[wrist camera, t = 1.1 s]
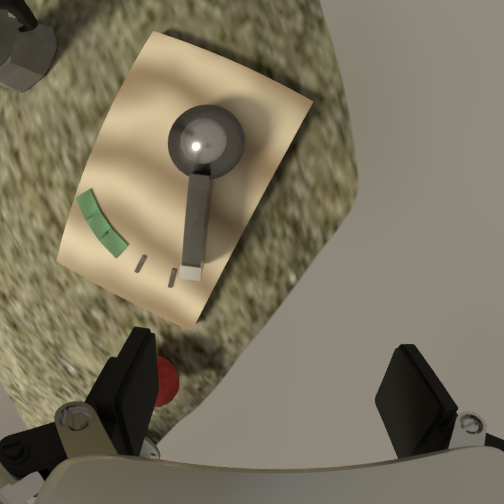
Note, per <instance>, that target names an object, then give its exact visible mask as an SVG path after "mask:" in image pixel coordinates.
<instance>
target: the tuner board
mask: <svg viewBox="0 0 504 504" xmlns="http://www.w3.org/2000/svg"><path fill="white" fill-rule="evenodd" d="M312 103H313V101H311V100H310V99H308V98H306V97H304V96H302V95H301V94H299V93H297V92H295V91H293V90H291V89H289V88H288V87H286V86H284V85H282V84H280V83H278V82H276V81H274V80H272V79H270V78H268V77H266V76H264V75H262V74H260V73H258V72H255V71H253V70H251V69H249V68H247V67H245V66H243V65H240V64H238V63H236V62H234V61H231V60H229V59H227V58H224V57H222V56H220V55H217V54H215V53H212V52H210V51H207V50H205V49H202V48H200V47H197V46H195V45H192V44H189V43H186V42H184V41H181V40H178V39H175V38H172V37H170V36H167V35H164V34H161V33H157V32H154V31H153V32H152V34H151V36H150V37H149V39H148V40H147V42H146V44H145V45H144V47H143V49H142V50H141V52H140V54H139V56H138V57H137V59H136V61H135V62H134V64H133V66H132V68H131V70H130V71H129V73H128V75H127V77H126V79H125V81H124V83H123V85H122V86H121V88H120V90H119V92H118V94H117V96H116V98H115V100H114V102H113V104H112V106H111V109H110V111H109V113H108V115H107V117H106V119H105V121H104V124H103V126H102V128H101V130H100V133H99V135H98V137H97V140H96V142H95V144H94V147H93V149H92V152H91V154H90V157H89V159H88V162H87V164H86V167H85V170H84V172H83V175H82V178H81V181H80V183H79V186H78V189H77V192H76V195H75V198H74V201H73V204H72V207H71V210H70V214H69V217H68V220H67V224H66V227H65V230H64V234H63V238H62V241H61V245H60V249H59V253H58V257H57V262H59V263H60V264H62V265H64V266H66V267H67V268H69V269H71V270H72V271H74V272H76V273H78V274H79V275H81V276H83V277H85V278H87V279H88V280H90V281H92V282H94V283H96V284H97V285H99V286H101V287H103V288H105V289H107V290H109V291H110V292H112V293H114V294H116V295H118V296H120V297H122V298H124V299H126V300H128V301H130V302H132V303H134V304H135V305H137V306H139V307H141V308H143V309H145V310H148V311H150V312H152V313H154V314H156V315H158V316H160V317H162V318H164V319H166V320H168V321H170V322H172V323H175V324H177V325H179V326H181V327H183V328H185V329H188V330H190V331H192V329H193V327H194V325H195V323H196V321H197V319H198V318H199V316H200V314H201V312H202V310H203V308H204V306H205V304H206V302H207V300H208V298H209V296H210V294H211V292H212V290H213V288H214V286H215V285H216V283H217V281H218V279H219V277H220V275H221V273H222V271H223V269H224V267H225V265H226V263H227V261H228V260H229V258H230V256H231V254H232V252H233V250H234V248H235V246H236V244H237V242H238V241H239V239H240V237H241V235H242V233H243V231H244V229H245V227H246V225H247V223H248V222H249V220H250V218H251V216H252V214H253V212H254V210H255V208H256V207H257V205H258V203H259V201H260V199H261V197H262V195H263V193H264V192H265V190H266V188H267V186H268V184H269V182H270V180H271V179H272V177H273V175H274V173H275V171H276V169H277V167H278V166H279V164H280V162H281V160H282V158H283V156H284V154H285V153H286V151H287V149H288V147H289V145H290V143H291V142H292V140H293V138H294V136H295V134H296V132H297V131H298V129H299V127H300V125H301V123H302V121H303V120H304V118H305V116H306V114H307V112H308V111H309V109H310V107H311V105H312ZM199 105H216V106H220V107H222V108H225V109H226V110H228V111H230V112H231V113H232V114H233V115H234V116H235V117H236V118H237V119H238V121H239V122H240V124H241V126H242V128H243V131H244V136H245V147H244V152H243V155H242V157H241V159H240V161H239V162H238V164H237V165H236V166H235V167H234V168H233V169H232V170H231V171H230V172H229V173H227V174H226V175H224V176H222V177H219V178H216V179H213V186H212V194H211V203H210V212H209V222H208V232H207V242H206V252H205V263H204V268H203V271H202V274H201V280H200V281H193V280H185V279H179V270H180V264H182V251H183V238H184V225H185V214H186V203H187V193H188V183H189V176H187V175H185V174H183V173H182V172H181V171H180V170H179V169H178V168H177V167H176V166H175V165H174V163H173V162H172V160H171V158H170V155H169V151H168V136H169V132H170V129H171V127H172V125H173V123H174V122H175V120H176V119H177V118H178V117H179V116H180V115H181V114H182V113H184V112H185V111H186V110H188V109H190V108H192V107H195V106H199Z"/></svg>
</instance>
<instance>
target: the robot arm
mask: <svg viewBox="0 0 504 504" xmlns="http://www.w3.org/2000/svg"><path fill="white" fill-rule="evenodd" d="M158 394H159V378H158V367H157V355H156V340H155V334H154V333H151V332H150V329H148V328H142V327H134V328H133V330H132V332H131V333H130V335H129V337H128V339H127V340H126V342H125V344H124V346H123V348H122V349H121V351H120V353H119V355H118V357H117V358H116V357H110V358H109V359H108V361H107V363H106V364H105V366H104V368H103V370H102V371H101V373H100V375H99V377H98V378H97V380H96V382H95V384H94V386H93V387H92V389H91V391H90V393H89V395H88V396H87V398H86V400H85V402H77V401H74V402H69V403H66V404H63V405H62V406H61V407H59V408H58V410H57V411H56V413H55V416H54V420H55V422H52V423H49V424H46V425H43V426H40V427H36V428H33V429H30V430H26V431H23V432H19V433H16V434H12V435H9V436H7V437H4V438H3V439H2V440H1V441H0V504H28V503H27V502H26V501H27V500H29V499H30V498H31V497H36V499H35V501H34V504H504V440H502V439H500V438H498V437H495V436H493V435H490V434H488V433H486V424H485V421H484V420H483V419H482V418H481V417H480V416H479V415H477V414H475V413H473V412H462V413H460V414H459V415H458V414H457V413H456V411H457V410H458V407H457V405H456V404H455V402H454V401H453V399H452V398H451V396H450V395H449V393H448V392H447V390H446V389H445V387H444V386H443V384H442V383H441V381H440V380H439V378H438V377H437V376H436V374H435V373H434V371H433V370H432V368H431V367H430V366H429V364H428V363H427V362H426V360H425V359H424V357H423V356H422V354H421V353H420V352H419V350H418V349H417V347H416V346H415V345H414V344H401V345H400V346H399V347H398V348H396V349H395V351H394V353H393V356H392V358H391V361H390V364H389V366H388V368H387V371H386V373H385V376H384V378H383V380H382V383H381V385H380V387H379V390H378V392H377V394H376V397H375V404H376V406H377V409H378V411H379V413H380V416H381V418H382V420H383V423H384V425H385V428H386V430H387V432H388V435H389V437H390V440H391V442H392V445H393V447H394V450H395V452H396V454H397V457H398V459H395V460H389V461H382V462H375V463H368V464H360V465H351V466H340V467H329V468H310V469H246V468H228V467H216V466H206V465H196V464H187V463H179V462H172V461H165V460H160V452H159V450H158V448H157V446H156V445H155V444H154V443H153V442H152V441H151V440H150V439H149V438H148V437H146V436H145V435H146V432H147V429H148V426H149V422H150V419H151V416H152V413H153V410H154V406H155V403H156V400H157V397H158Z"/></svg>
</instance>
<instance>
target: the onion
mask: <svg viewBox="0 0 504 504" xmlns="http://www.w3.org/2000/svg"><path fill="white" fill-rule="evenodd" d="M157 367H158V378H159V394H158V397H157V400H156V403H155V406H154V407H161V406H163V405H165V404H167V403H169V402H171V401H172V400H173V398H174V397H175V395H176V394H177V392H178V390H179V376H178V373H177V371H176V369H175V367H174V366H173V365H172V364H171V363H170V362H169V361H168V360H166V359H165V358H163V357H160V356H157Z"/></svg>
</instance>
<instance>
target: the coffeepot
mask: <svg viewBox="0 0 504 504" xmlns="http://www.w3.org/2000/svg"><path fill="white" fill-rule="evenodd" d="M6 10H7V11H8V12H9V13H11V14H13V15H14V16H15V17H16V18H11V17H9V16H8V12H7V11H6ZM56 49H57V41H56V36H55V33H54V30H53V26H49V25H45V24H41V23H38V21H37V19H36V18H35V16H34V15H33V13H32V12H31V10H30V8H29V7H28V6H27V4H26V3H25V1H24V0H0V85H1V86H3V87H5V88H8V89H11V90H15V91H18V92H21V93H23V92H24V91H25V90H27V89H29V88H30V87H32V86H33V85H35V84H36V83H37V82H38V81H39V80H40V79H41V78H42V77H44V75H45V74H46V72H47V70H48V69H49V67H50V65H51V63H52V61H53V58H54V56H55V52H56Z"/></svg>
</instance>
